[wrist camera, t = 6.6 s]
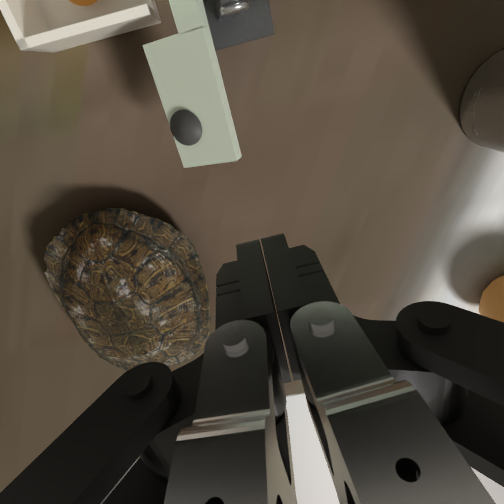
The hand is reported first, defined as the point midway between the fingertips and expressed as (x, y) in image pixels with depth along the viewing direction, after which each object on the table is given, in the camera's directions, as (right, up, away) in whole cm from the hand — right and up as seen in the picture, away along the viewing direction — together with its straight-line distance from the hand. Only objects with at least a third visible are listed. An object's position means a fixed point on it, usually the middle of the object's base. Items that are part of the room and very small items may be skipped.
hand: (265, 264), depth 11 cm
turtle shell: (-14, -3, +30) cm, 33 cm away
